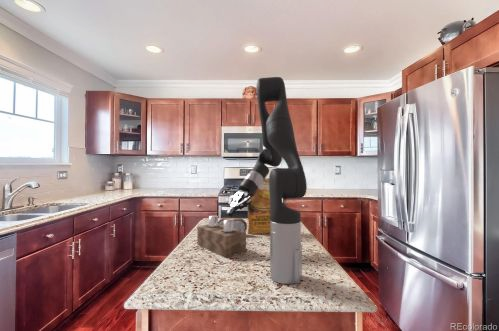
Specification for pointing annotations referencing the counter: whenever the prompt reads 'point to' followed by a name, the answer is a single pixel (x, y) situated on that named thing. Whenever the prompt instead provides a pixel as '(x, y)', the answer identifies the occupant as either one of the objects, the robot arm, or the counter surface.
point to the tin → (236, 223)
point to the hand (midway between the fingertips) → (228, 215)
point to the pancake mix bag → (260, 210)
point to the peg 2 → (228, 226)
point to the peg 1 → (213, 221)
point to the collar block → (221, 240)
